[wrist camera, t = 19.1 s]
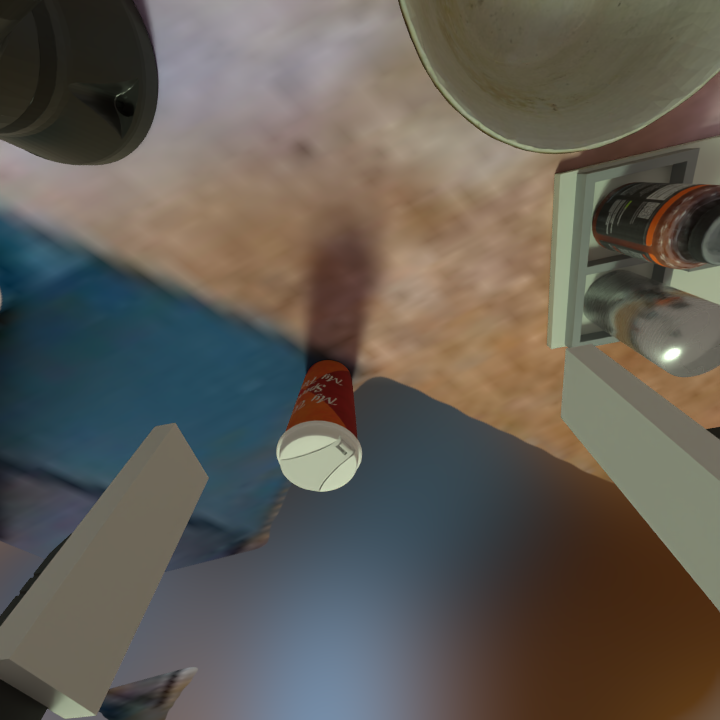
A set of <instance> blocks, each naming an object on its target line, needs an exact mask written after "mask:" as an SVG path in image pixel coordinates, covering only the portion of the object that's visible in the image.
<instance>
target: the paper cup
mask: <svg viewBox="0 0 720 720" xmlns="http://www.w3.org/2000/svg"><path fill="white" fill-rule="evenodd" d="M276 452H277V458H278V461H279V463H280V465H281V469H282V472H283V474H284V475H285V476H286V478H287V479H288V480H290V481H291V482H292V483H294V484H295V485H297V486H299V487H301V488H304V489H308V490H313V491H330V490H334V489H337V488H339V487H341V486H343V485H345V484H346V483H347V482H348V481H349V480H350V479H351V478H352V477H353V475H354V474H355V472H356V470H357V468H358V467H359V465H360V463H361V459H362V449H361V446H360V443H359V441H358V440H357V430H356V417H355V406H354V395H353V386H352V379H351V375H350V372H349V370H348V369H347V368H346V367H345V366H344V365H343V364H341V363H339V362H337V361H333V360H323V361H319V362H317V363H315V364H314V365H312V366H311V367H310V369H309V370H308V372H307V374H306V377H305V379H304V382H303V384H302V387H301V390H300V393H299V395H298V398H297V401H296V404H295V407H294V409H293V412H292V415H291V418H290V421H289V424H288V426H287V429H286V432H285V433H284V434H283V435H282V436H281V438H280V440H279V442H278V445H277V451H276Z"/></svg>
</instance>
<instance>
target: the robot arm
mask: <svg viewBox="0 0 720 720" xmlns="http://www.w3.org/2000/svg"><path fill="white" fill-rule="evenodd" d="M157 96H158V80H157V70H156V63H155V58H154V53H153V49H152V46H151V42H150V39H149V36H148V33H147V30H146V28H145V25H144V23H143V21H142V18H141V16H140V14H139V12H138V10H137V8H136V6H135V4H134V2H133V1H132V0H0V139H1V140H3V141H6V142H8V143H10V144H12V145H15V146H17V147H19V148H22V149H24V150H26V151H28V152H30V153H32V154H34V155H36V156H39V157H42V158H44V159H47V160H51V161H54V162H59V163H63V164H70V165H103V164H108V163H112V162H115V161H118V160H120V159H122V158H124V157H126V156H127V155H129V154H130V153H132V152H133V151H134V150H135V149H136V148H137V147H138V146H139V145H140V144H141V142H142V141H143V140H144V138H145V137H146V135H147V133H148V131H149V129H150V127H151V124H152V122H153V119H154V115H155V111H156V105H157ZM561 418H562V419H563V421H564V422H565V423H566V424H567V426H568V427H569V428H570V429H571V430H572V432H573V433H574V434H575V435H576V437H577V438H578V439H579V440H580V441H581V443H582V444H583V445H584V446H585V447H586V449H587V450H588V451H589V452H590V454H591V455H592V456H593V457H594V458H595V460H596V461H597V462H598V463H599V465H600V466H601V467H602V468H603V469H604V471H605V472H606V473H607V474H608V476H609V477H610V478H611V479H612V480H613V482H614V483H615V484H616V485H617V486H618V488H619V489H620V490H621V491H622V492H623V494H624V495H625V496H626V497H627V499H628V500H629V501H630V502H631V503H632V505H633V506H634V507H635V508H636V510H637V511H638V512H639V513H640V514H641V516H642V517H643V518H644V519H645V521H646V522H647V523H648V524H649V525H650V527H651V528H652V529H653V530H654V532H655V533H656V534H657V535H658V536H659V538H660V539H661V540H662V541H663V543H664V544H665V545H666V546H667V547H668V549H669V550H670V551H671V552H672V554H673V555H674V556H675V557H676V558H677V560H678V561H679V562H680V563H681V565H682V566H683V567H684V568H685V569H686V571H687V572H688V573H689V574H690V575H691V577H692V578H693V579H694V580H695V581H696V583H697V584H698V585H699V586H700V588H701V589H702V590H703V591H704V592H705V594H706V595H707V596H708V597H709V599H710V600H711V601H712V602H713V603H714V605H715V606H716V607H717V608H718V610H719V611H720V427H716V428H710V429H705V428H703V427H702V426H701V425H699V424H698V423H697V422H695V421H694V420H693V419H691V418H690V417H689V416H687V415H686V414H685V413H683V412H682V411H681V410H679V409H678V408H677V407H675V406H674V405H673V404H671V403H670V402H669V401H667V400H666V399H665V398H663V397H662V396H661V395H659V394H658V393H657V392H655V391H654V390H653V389H651V388H650V387H649V386H647V385H646V384H645V383H643V382H642V381H641V380H639V379H638V378H637V377H635V376H634V375H633V374H631V373H630V372H629V371H627V370H626V369H625V368H623V367H622V366H621V365H619V364H618V363H617V362H615V361H614V360H613V359H611V358H610V357H609V356H607V355H606V354H604V353H603V352H602V351H600V350H599V349H598V348H596V347H595V346H594V345H592V344H588V345H583V346H577V347H572V348H567V349H566V355H565V368H564V381H563V395H562V408H561ZM207 480H208V476H207V474H206V473H205V471H204V470H203V468H202V466H201V465H200V463H199V461H198V460H197V458H196V456H195V455H194V453H193V451H192V450H191V448H190V446H189V445H188V443H187V441H186V440H185V438H184V437H183V435H182V433H181V432H180V430H179V428H178V427H177V425H176V423H172V424H167V425H161V426H156V427H154V429H153V430H152V431H151V432H150V434H149V435H148V436H147V438H146V439H145V440H144V441H143V443H142V444H141V445H140V447H139V448H138V449H137V450H136V452H135V453H134V454H133V456H132V457H131V458H130V460H129V461H128V462H127V463H126V465H125V466H124V467H123V469H122V470H121V471H120V472H119V474H118V475H117V476H116V478H115V479H114V480H113V482H112V483H111V484H110V485H109V487H108V488H107V489H106V491H105V492H104V493H103V494H102V496H101V497H100V498H99V500H98V501H97V502H96V504H95V505H94V506H93V507H92V509H91V510H90V511H89V513H88V514H87V515H86V516H85V518H84V519H83V520H82V522H81V523H80V524H79V526H78V527H77V528H76V529H75V531H74V532H73V533H72V534H70V535H69V536H68V537H67V538H66V539H65V540H64V541H63V542H62V543H60V544H59V545H58V546H57V547H56V548H55V549H54V550H53V551H52V552H51V553H50V554H49V555H48V556H47V558H46V559H45V560H44V561H43V563H42V564H41V565H40V566H39V568H38V569H37V570H36V572H35V573H34V577H33V578H30V579H29V580H28V582H27V583H26V584H25V585H24V587H23V588H22V589H21V590H20V594H19V596H16V597H15V598H14V599H13V600H12V602H11V603H10V604H9V606H8V607H7V608H6V609H5V611H4V612H3V613H2V614H1V616H0V720H41V719H42V717H43V715H44V713H45V712H46V710H47V709H49V710H51V711H53V712H54V713H56V714H58V715H59V716H61V717H63V718H64V719H68V718H77V717H87V716H95V715H97V713H98V711H99V709H100V707H101V705H102V703H103V700H104V698H105V696H106V694H107V692H108V690H109V688H110V685H111V683H112V681H113V679H114V677H115V675H116V673H117V671H118V669H119V667H120V664H121V662H122V660H123V658H124V656H125V654H126V652H127V650H128V647H129V645H130V643H131V641H132V639H133V637H134V635H135V633H136V631H137V628H138V626H139V624H140V622H141V620H142V618H143V615H144V614H145V611H146V609H147V607H148V605H149V603H150V601H151V599H152V597H153V595H154V593H155V590H156V588H157V586H158V584H159V582H160V580H161V578H162V576H163V573H164V571H165V569H166V567H167V565H168V563H169V561H170V559H171V557H172V554H173V552H174V550H175V548H176V546H177V544H178V542H179V540H180V538H181V535H182V533H183V531H184V529H185V527H186V525H187V523H188V521H189V518H190V516H191V514H192V512H193V510H194V508H195V506H196V504H197V502H198V499H199V497H200V495H201V493H202V491H203V489H204V487H205V485H206V483H207Z"/></svg>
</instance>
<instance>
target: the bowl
mask: <svg viewBox="0 0 720 720" xmlns="http://www.w3.org/2000/svg"><path fill="white" fill-rule="evenodd" d="M398 2H399V5H400V9H401V13H402V16H403V19H404V21H405V24H406V27H407V29H408V32H409V35H410V38H411V40H412V42H413V44H414V47H415V49H416V51H417V54H418V56H419V58H420V60H421V63H422V65H423V66H424V68H425V70H426V72H427V73H428V75H429V77H430V78H431V80H432V82H433V83H434V85H435V87H436V88H437V89H438V90H439V92H440V93H441V94H442V95H443V97H444V98H445V99H446V100H447V102H448V103H449V104H450V105H451V106H452V107H453V108H454V109H455V110H456V111H458V112H459V113H460V114H461V115H462V116H463V117H464V118H465V119H467V120H468V121H469V122H470V123H471V124H473V125H474V126H475V127H477V128H478V129H479V130H480V131H482V132H483V133H485V134H487V135H488V136H490V137H492V138H494V139H496V140H498V141H501V142H503V143H506V144H508V145H511V146H513V147H515V148H518V149H522V150H526V151H531V152H537V153H545V154H563V153H573V152H579V151H584V150H590V149H595V148H598V147H601V146H604V145H607V144H609V143H612V142H615V141H617V140H619V139H621V138H624V137H626V136H628V135H630V134H633V133H635V132H637V131H639V130H640V129H642V128H644V127H645V126H647V125H649V124H651V123H652V122H654V121H655V120H657V119H658V118H660V117H661V116H663V115H664V114H666V113H668V112H669V111H671V110H672V109H674V108H675V107H677V106H678V105H680V104H681V103H682V102H684V101H685V100H687V99H688V98H689V97H691V96H692V95H693V94H694V93H696V92H697V91H698V90H699V89H701V88H702V87H703V86H704V85H705V84H706V83H707V82H708V81H709V80H710V79H711V78H712V77H713V76H715V75H716V74H717V73H718V72H719V71H720V0H398Z"/></svg>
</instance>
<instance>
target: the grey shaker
mask: <svg viewBox="0 0 720 720" xmlns="http://www.w3.org/2000/svg"><path fill="white" fill-rule="evenodd" d="M583 314H584V315H585V317H586V318H587V319H588V320H589V321H590V322H592V323H594V324H595V325H597V326H598V327H600V328H601V329H603V330H604V331H606V332H607V333H609V334H610V335H612V336H613V337H615V338H616V339H618V340H619V341H621V342H622V343H624V344H626V345H627V346H629V347H630V348H632V349H633V350H635V351H636V352H638V353H639V354H641V355H642V356H644V357H645V358H647V359H648V360H650V361H651V362H653V363H654V364H656V365H657V366H659V367H661V368H662V369H664V370H665V371H667V372H668V373H670V374H672V375H674V376H678V377H691V376H696V375H700V374H703V373H706V372H708V371H710V370H712V369H714V368H716V367H717V366H719V365H720V305H719V304H716V303H713V302H711V301H708V300H705V299H703V298H700V297H698V296H695V295H692V294H690V293H687V292H684V291H682V290H679V289H676V288H674V287H671V286H668V285H666V284H663V283H660V282H658V281H655V280H653V279H650V278H647V277H645V276H642V275H639V274H637V273H634V272H631V271H628V270H615V271H611V272H609V273H606V274H604V275H603V276H601V277H600V278H598V279H597V280H596V281H595V282H594V283H593V284H592V285H591V286H590V287H589V288H588V290H587V292H586V293H585V296H584V305H583Z"/></svg>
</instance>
